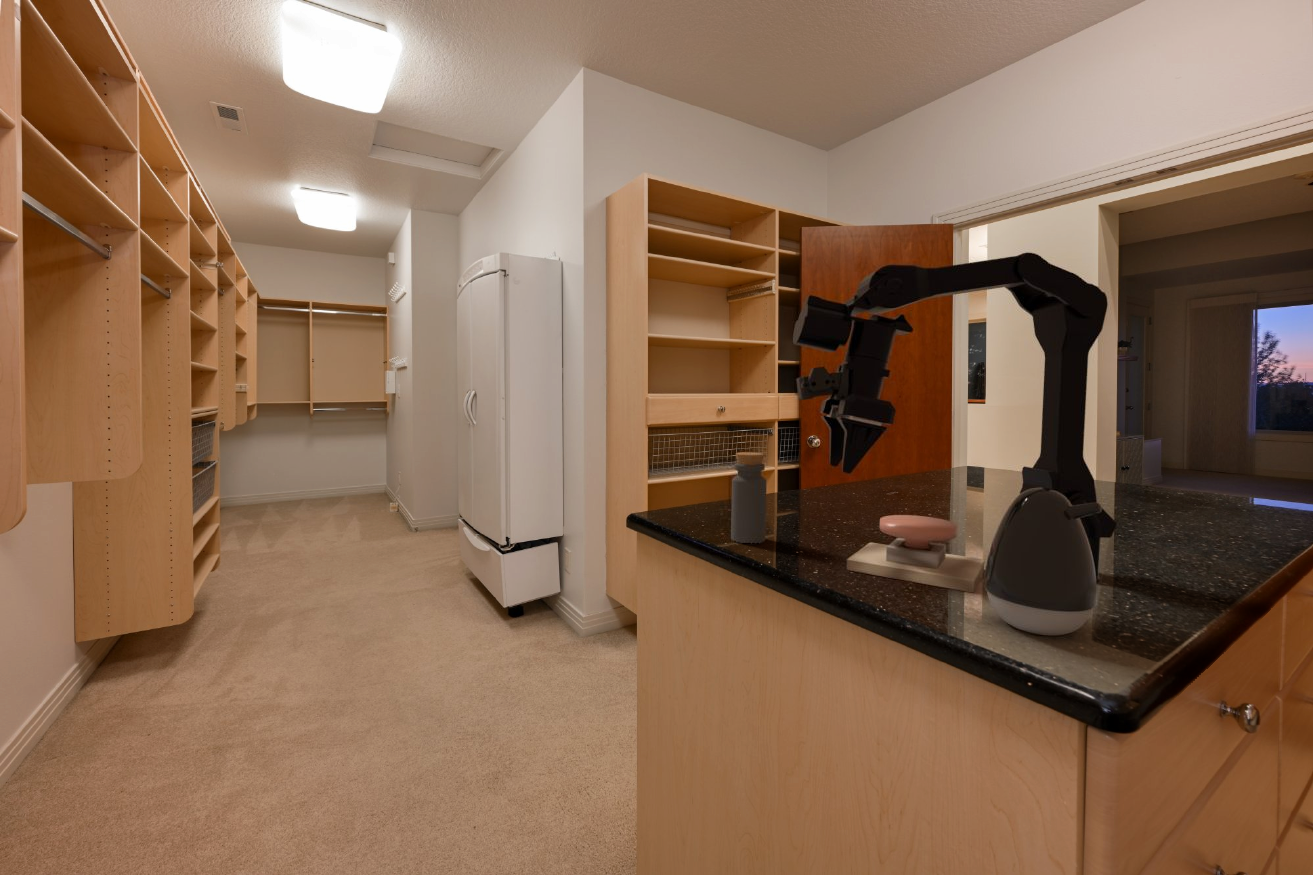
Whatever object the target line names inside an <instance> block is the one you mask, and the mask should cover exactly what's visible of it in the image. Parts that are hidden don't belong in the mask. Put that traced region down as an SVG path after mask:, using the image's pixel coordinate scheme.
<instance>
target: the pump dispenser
mask: <svg viewBox="0 0 1313 875" xmlns="http://www.w3.org/2000/svg"><path fill="white" fill-rule="evenodd" d="M1102 508H1103V507H1102V505H1101V504H1100V503H1099V502H1098V501H1097V502H1094V503H1087V504H1080V505H1072V504H1071V503H1070V501H1069V500H1068V499H1067V498H1066V497H1065V496H1064V495H1063V494H1061V493H1059V492H1057V491H1055V490H1053V489H1049V488H1032V489H1029V490H1026V491H1024V492H1022V493H1021V494H1020V493H1019V494H1018V495H1017V496H1016V497H1015V498H1014V499H1013V501H1012V502H1011V503H1010V505H1009V506H1008V508H1007V510H1006V511H1005V512H1004V513H1003V516H1002V518H1001V520H1000V522H999V524H998V526H997V528H996V531H995V533H994V536H993V538H992V542H991V544H990V547H989V550H988V551H989V552H988V554H987V560H986V565H985V567H984V575H983V587H984V590H986V592H987V597H988V600H989V603H990V605H991V607H992V609H993V610H994V612H995V614H996V615H998V616H999V618H1000V619H1002V621H1005V623H1007V624H1009V625H1010V626H1012V627H1014V628H1015V629H1018V630H1021V631H1024V632H1027V633H1030V634H1034V635H1035V634H1036V635H1040V636H1062V635H1067V634H1071V633H1073V632H1076V631H1077V630H1078V629H1080V628H1081V627H1082V626H1083V625H1085V623H1086V622H1087V621H1088V619H1089V617H1090V616H1091V613H1092V611H1093V609H1094V608H1096V607H1097V603H1098V587H1097V586H1098V584H1097V583H1098V582H1096V573H1095V566H1094V561H1093V556H1092V552H1091V548H1090V544H1089V541H1088V538H1087V535H1086V532H1085V530H1084V527H1083V525H1082V522H1081V520H1080V518H1081V517H1085V516H1089V515H1092V514H1094V513H1100V512H1101V511H1102Z"/></svg>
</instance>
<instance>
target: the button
mask: <svg viewBox="0 0 1313 875" xmlns="http://www.w3.org/2000/svg"><path fill="white" fill-rule="evenodd" d="M879 531H881V533H884V534H886V535H888V536H892V537H896V538H903V539H905V542H904V545H905V546H907V547H911V548H917V549H926V548H929V542H938V541H939V542H940V541H941V542H942V541H951V540H954V539H956V538H957V534H958V533H957V532H958V525H957V524H956V523H954V522H952V521H950V520H946V519H942V518H938V517H931V516H923V515H914V514H913V515H911V514H910V515H909V514H893V515H886V516H882V517H880V519H879Z"/></svg>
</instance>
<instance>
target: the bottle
mask: <svg viewBox="0 0 1313 875" xmlns="http://www.w3.org/2000/svg"><path fill="white" fill-rule="evenodd" d="M764 456H765V454H764V453H762V452H754V451H753V452H752V451H751V452H749V451H748V452H747V451H746V452H745V451H744V452H743V451H742V452H736V453H735V457H736V463H734V470H736V471H737V475H735V476H734V477H733V478H732V479H731V512H730V513H731V517H730V518H731V523H730V524H731V525H730V526H731V527H730V538H731V541H732V540H733V542H734V541H736V542H735V543H737V542H740V543H739V544H742V543H751V544H750V545H753V544H752V543H755V544H754V545H757V544H756V543H759V544H763V543H765V542H764V541H766V532H767V531H766V530H767V528H766V527H767V526H766V525H767V479H766V478H765V477H764V476H762V471H765V468H766V465H765V464H764V463H763V459H764ZM762 542H763V543H762Z"/></svg>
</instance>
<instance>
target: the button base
mask: <svg viewBox="0 0 1313 875" xmlns="http://www.w3.org/2000/svg"><path fill="white" fill-rule="evenodd" d="M904 542H905V538H900V537H896V539H894V540H893V541H892V542H891V543H889V544H884V543H883V544H882V543H876V542H869V543H866V545H865V546H863V547H862V548H860V549H859V550H858V551H856V552H855V553H854V554H852V555H851V556H850V557H848V558H846V571H851V572H856V573H861V574H867V575H873V576H878V577H884V578H890V579H895V580H901V581H906V582H912V583H917V584H918V583H919V584H923V585H927V586H928V585H929V586H935V587H940V588H946V589H952V590H957V591H963V592H968V593H974V592H975V590H976V588H977V585H978V583H979V582H980V579H981V577H982V575H983V573H984V572H985V562H986V561H985V558H979V557H971V556H965V555H960V554H959V555H956V554H951V553H947V552H946V550H947V549H946V548H947V545H946V543H945V544H943V543H936V542H932V541H929V548H926V549H917V548H911V547H907V546H905V545H904Z"/></svg>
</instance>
